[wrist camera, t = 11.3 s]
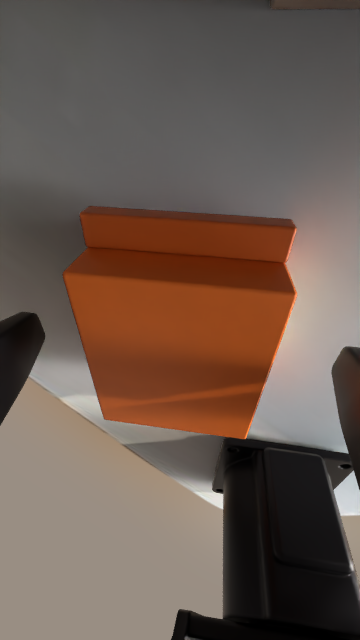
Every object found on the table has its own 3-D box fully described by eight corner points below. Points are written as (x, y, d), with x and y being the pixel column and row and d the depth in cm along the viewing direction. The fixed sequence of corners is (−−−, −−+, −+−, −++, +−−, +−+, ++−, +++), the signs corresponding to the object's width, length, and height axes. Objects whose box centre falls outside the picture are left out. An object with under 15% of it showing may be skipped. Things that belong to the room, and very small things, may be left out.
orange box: (285, 203, 7) (317, 253, 4) (239, 380, 11) (243, 452, 9) (104, 192, 7) (45, 232, 5) (129, 367, 11) (105, 432, 9)
